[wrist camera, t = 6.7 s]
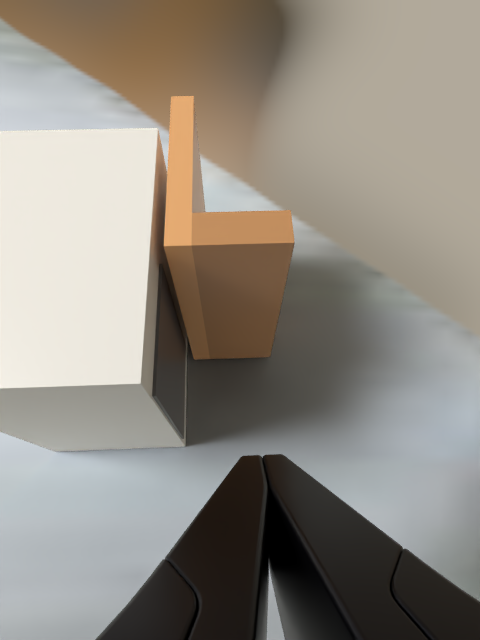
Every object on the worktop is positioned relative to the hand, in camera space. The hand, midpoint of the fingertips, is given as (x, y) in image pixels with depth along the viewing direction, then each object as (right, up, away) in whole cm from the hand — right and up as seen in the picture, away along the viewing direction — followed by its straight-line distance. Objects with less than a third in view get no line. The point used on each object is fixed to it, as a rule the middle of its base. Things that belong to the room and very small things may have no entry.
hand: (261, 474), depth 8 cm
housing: (-6, +1, +13) cm, 14 cm away
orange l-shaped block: (-1, +4, +14) cm, 14 cm away
